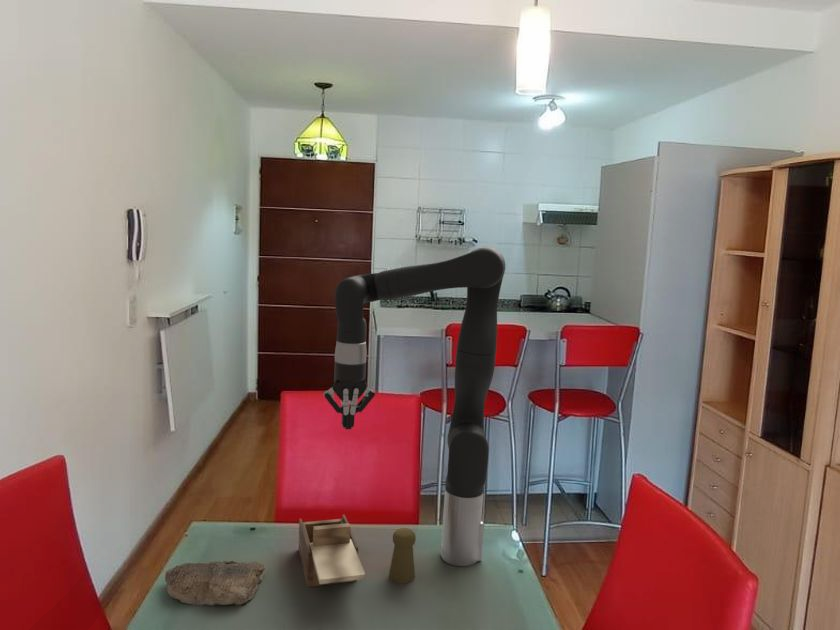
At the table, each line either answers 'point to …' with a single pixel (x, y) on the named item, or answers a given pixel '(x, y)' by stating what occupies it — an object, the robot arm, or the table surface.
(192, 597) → the clay tablet
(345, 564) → the cover plate
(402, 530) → the tan pawn
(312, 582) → the lid box
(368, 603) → the table surface
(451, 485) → the robot arm
